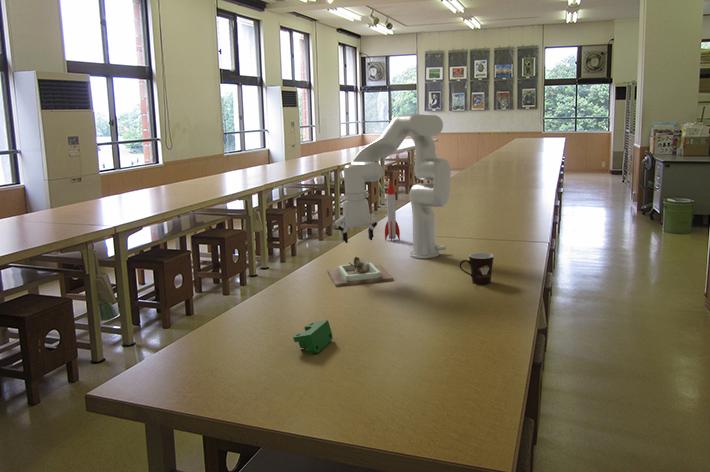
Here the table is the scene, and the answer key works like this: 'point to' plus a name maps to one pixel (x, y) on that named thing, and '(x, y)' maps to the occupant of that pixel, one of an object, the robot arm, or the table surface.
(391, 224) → the toy rocket
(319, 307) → the table surface
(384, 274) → the jig board
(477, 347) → the table surface
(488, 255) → the coffee mug
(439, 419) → the table surface
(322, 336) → the clamp
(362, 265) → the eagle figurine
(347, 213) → the robot arm
